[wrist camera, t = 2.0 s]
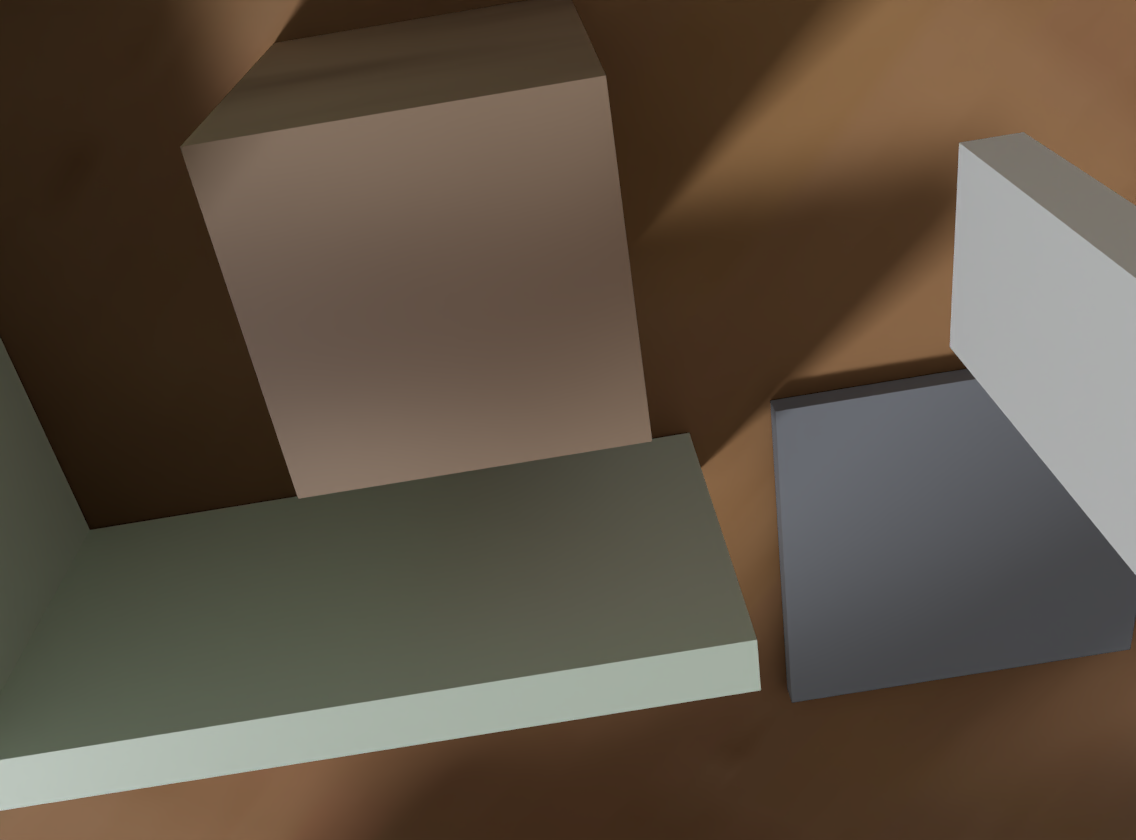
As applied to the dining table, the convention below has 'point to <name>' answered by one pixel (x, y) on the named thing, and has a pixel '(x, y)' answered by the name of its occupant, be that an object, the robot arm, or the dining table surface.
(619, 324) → the walnut block
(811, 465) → the coaster
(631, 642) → the u-shaped panel enclosure
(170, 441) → the dining table surface
